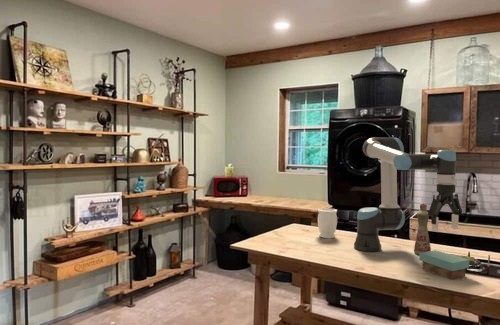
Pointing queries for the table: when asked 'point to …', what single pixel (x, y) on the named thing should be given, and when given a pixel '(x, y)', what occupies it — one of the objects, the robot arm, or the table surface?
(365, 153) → the robot arm
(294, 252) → the table surface
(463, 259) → the lid
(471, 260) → the carton
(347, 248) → the table surface
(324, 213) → the jar
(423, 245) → the bottle
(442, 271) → the crate
